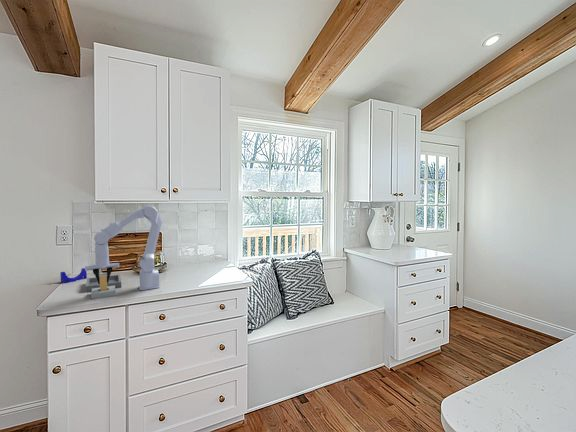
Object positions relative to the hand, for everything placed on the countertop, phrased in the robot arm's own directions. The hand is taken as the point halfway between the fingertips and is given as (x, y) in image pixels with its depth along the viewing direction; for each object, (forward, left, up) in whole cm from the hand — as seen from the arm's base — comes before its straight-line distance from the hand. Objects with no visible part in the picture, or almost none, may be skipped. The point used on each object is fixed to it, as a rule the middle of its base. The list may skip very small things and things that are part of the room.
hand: (103, 283), depth 149 cm
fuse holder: (0, 0, -6) cm, 6 cm away
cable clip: (+15, -38, -6) cm, 42 cm away
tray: (0, -18, -6) cm, 19 cm away
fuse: (0, 0, -3) cm, 3 cm away
